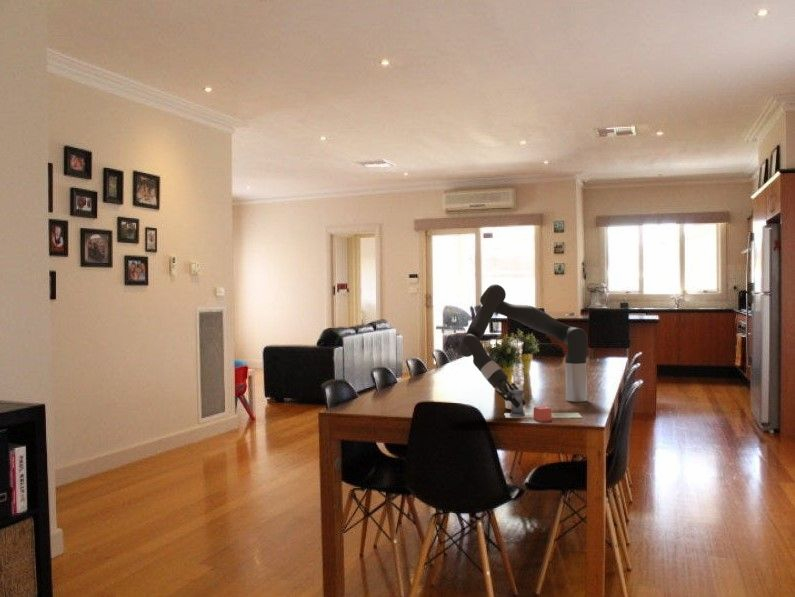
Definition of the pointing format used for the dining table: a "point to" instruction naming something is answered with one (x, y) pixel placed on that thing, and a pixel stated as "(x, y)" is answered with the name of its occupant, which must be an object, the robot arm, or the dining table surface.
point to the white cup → (507, 403)
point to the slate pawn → (519, 397)
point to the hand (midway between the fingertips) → (521, 405)
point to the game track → (553, 415)
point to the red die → (542, 413)
